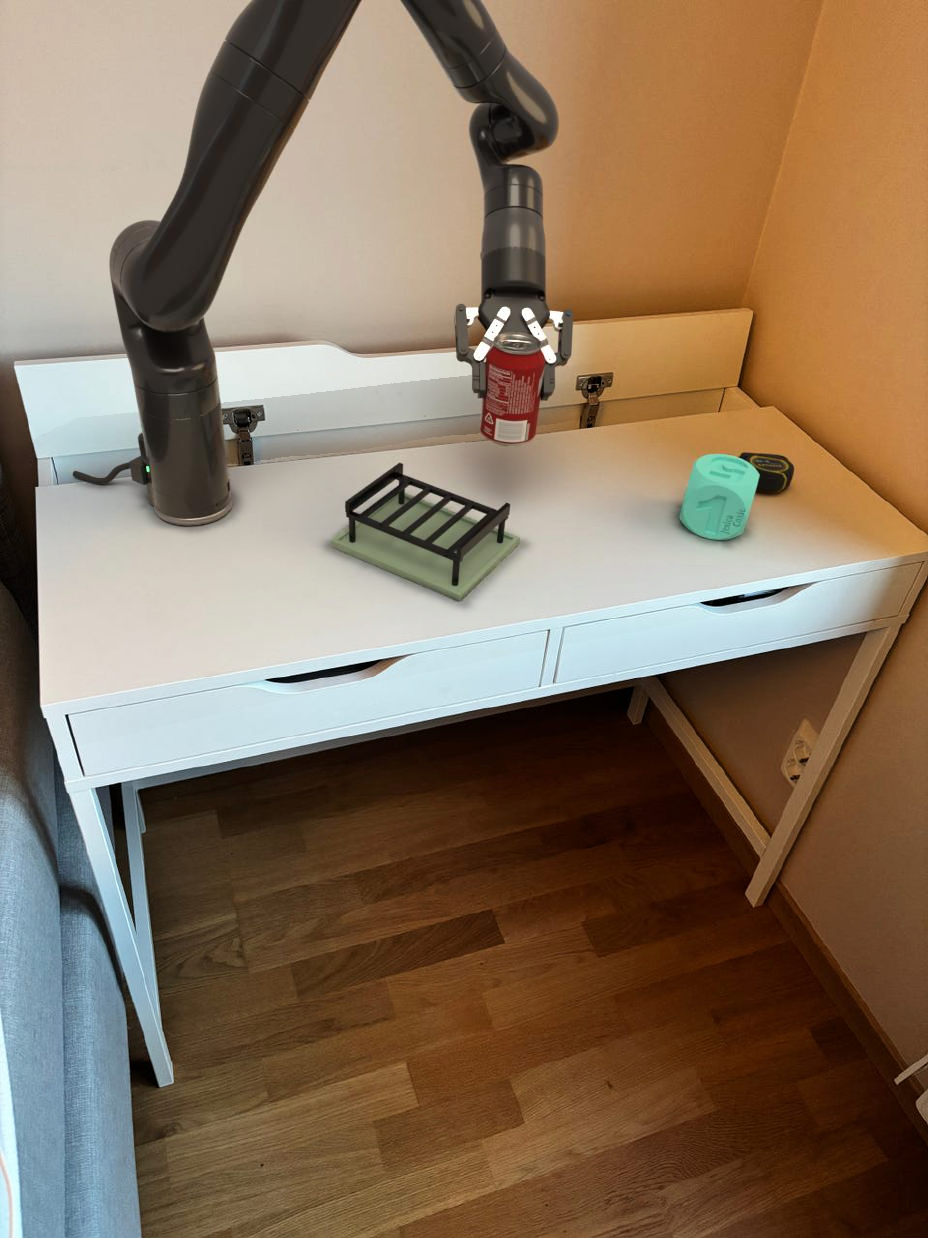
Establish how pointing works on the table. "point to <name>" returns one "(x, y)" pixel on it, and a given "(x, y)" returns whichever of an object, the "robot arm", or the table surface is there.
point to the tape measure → (770, 471)
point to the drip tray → (420, 561)
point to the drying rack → (425, 516)
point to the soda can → (512, 389)
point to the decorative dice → (719, 496)
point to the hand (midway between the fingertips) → (513, 397)
